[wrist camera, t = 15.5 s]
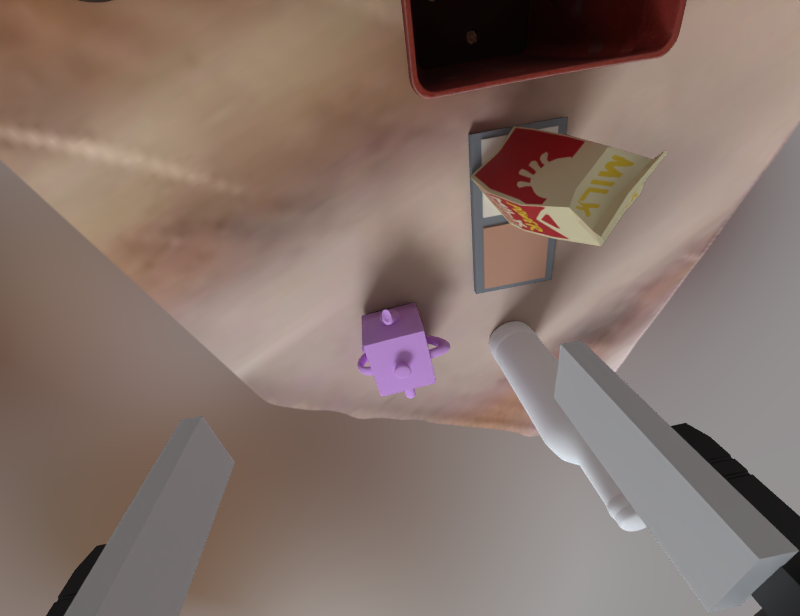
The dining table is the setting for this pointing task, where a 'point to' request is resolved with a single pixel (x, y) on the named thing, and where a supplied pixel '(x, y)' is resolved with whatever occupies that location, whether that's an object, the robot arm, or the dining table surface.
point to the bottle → (554, 412)
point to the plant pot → (529, 39)
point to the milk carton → (562, 184)
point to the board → (505, 225)
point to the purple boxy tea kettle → (398, 350)
